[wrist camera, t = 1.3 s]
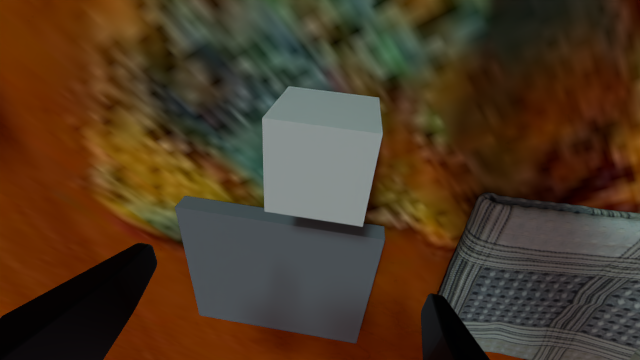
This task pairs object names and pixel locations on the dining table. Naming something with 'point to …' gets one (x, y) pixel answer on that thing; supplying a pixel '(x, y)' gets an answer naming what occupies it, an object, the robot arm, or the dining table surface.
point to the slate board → (279, 267)
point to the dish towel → (548, 280)
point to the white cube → (321, 154)
